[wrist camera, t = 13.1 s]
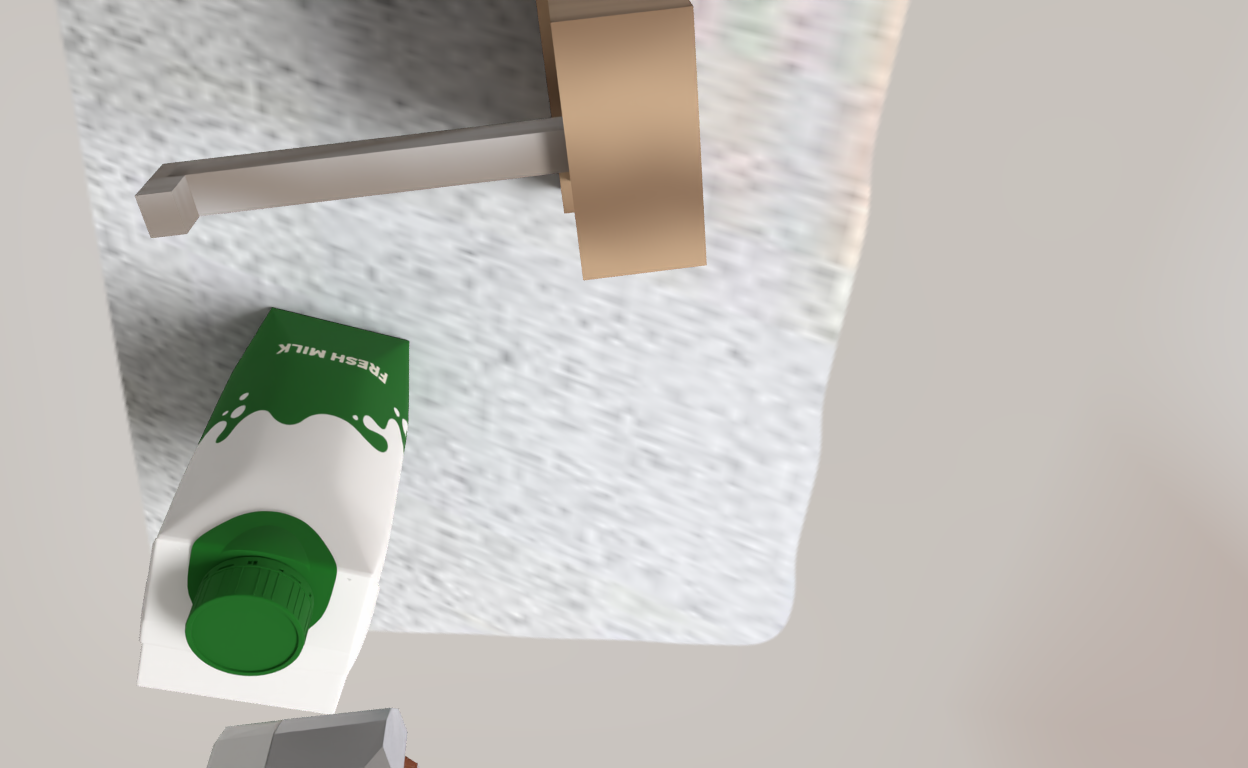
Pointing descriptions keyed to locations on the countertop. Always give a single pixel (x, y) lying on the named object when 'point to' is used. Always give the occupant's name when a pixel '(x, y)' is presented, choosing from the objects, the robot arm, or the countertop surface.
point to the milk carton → (281, 521)
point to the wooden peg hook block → (519, 146)
